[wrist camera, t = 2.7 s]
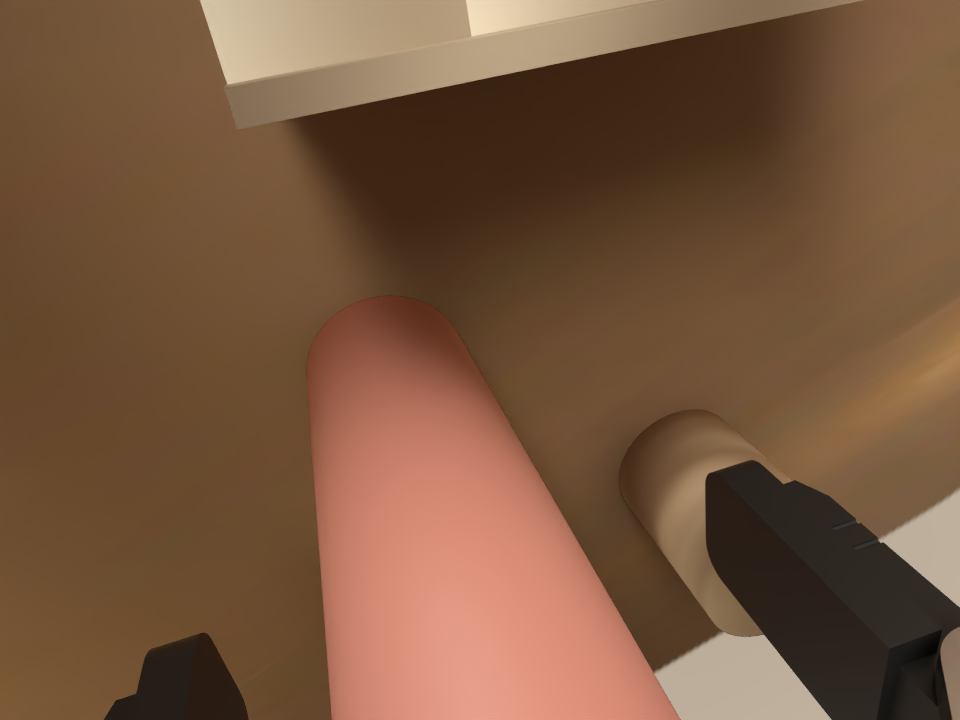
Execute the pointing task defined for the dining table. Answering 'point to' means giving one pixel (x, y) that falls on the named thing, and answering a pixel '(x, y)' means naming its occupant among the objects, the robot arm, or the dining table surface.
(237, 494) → the dining table surface
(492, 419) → the long dowel
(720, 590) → the short dowel
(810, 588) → the robot arm
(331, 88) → the hole block
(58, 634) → the dining table surface
